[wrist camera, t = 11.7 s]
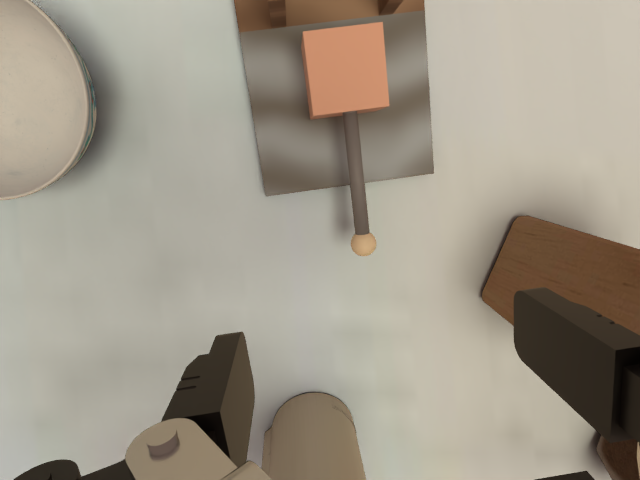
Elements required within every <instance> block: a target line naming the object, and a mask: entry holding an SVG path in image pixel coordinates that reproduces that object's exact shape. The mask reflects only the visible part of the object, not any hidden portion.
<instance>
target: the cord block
mask: <svg viewBox="0 0 640 480" xmlns="http://www.w3.org/2000/svg"><path fill="white" fill-rule="evenodd" d="M301 51H302V59H303V67H304V75H305V82H306V90H307V98H308V106H309V114H310V120H312V119H320V118H328V117H335V116H343V124H344V133H345V142H346V152H347V161H348V170H349V179H350V188H351V197H352V207H353V216H354V225H355V235H354V236H353V237H352V240H351V247H352V250H353V251H354V252H355V253H356V254H357V255H360V256H367V255H370V254H371V253H372V252H373V251H374V250H375V248H376V239H375V237H374V236H373V235H372V234H371V233H370V232H369V224H368V214H367V204H366V194H365V184H364V174H363V164H362V154H361V144H360V134H359V124H358V113H366V112H374V111H378V110H381V109H383V108H386V107H388V106H389V94H388V81H387V69H386V57H385V44H384V32H383V22H377V23H369V24H361V25H352V26H344V27H336V28H327V29H319V30H311V31H303V34H302V43H301Z"/></svg>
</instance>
